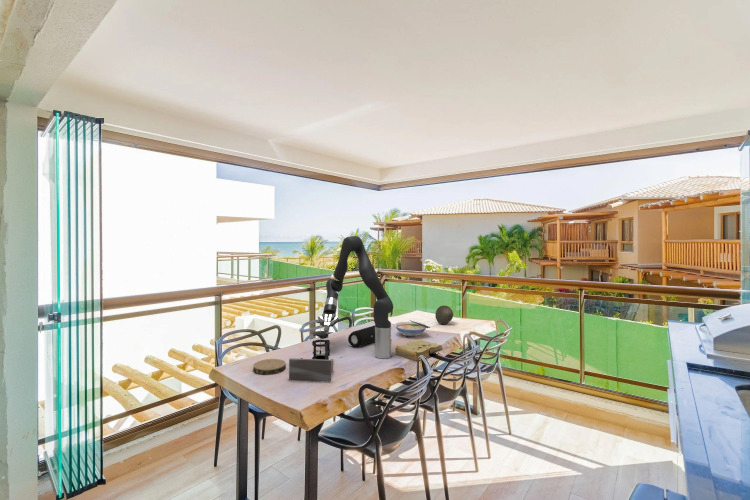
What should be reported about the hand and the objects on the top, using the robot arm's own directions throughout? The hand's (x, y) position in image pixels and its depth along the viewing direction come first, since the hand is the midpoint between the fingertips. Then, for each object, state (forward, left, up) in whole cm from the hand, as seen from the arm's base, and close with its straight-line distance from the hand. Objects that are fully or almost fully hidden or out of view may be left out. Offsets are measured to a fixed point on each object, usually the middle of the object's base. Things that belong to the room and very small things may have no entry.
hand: (326, 332), depth 205 cm
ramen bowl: (-40, -59, -14) cm, 73 cm away
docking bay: (-5, +29, -14) cm, 32 cm away
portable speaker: (-15, -32, -14) cm, 38 cm away
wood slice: (+20, +28, -14) cm, 37 cm away
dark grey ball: (-61, -101, -14) cm, 119 cm away
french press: (-2, +13, -14) cm, 19 cm away
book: (-51, -20, -15) cm, 57 cm away
